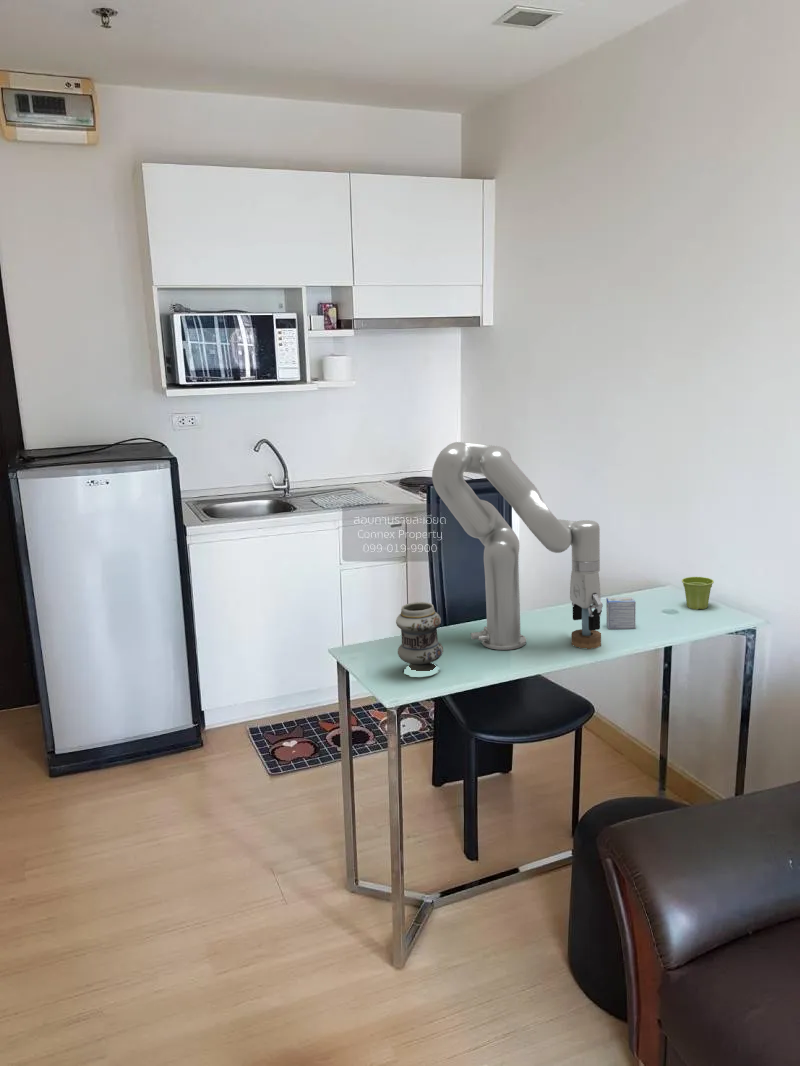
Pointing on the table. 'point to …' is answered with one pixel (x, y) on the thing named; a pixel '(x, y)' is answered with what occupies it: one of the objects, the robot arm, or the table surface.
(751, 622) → the table surface
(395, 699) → the table surface
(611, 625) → the medicine box
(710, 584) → the plant pot
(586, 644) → the bead
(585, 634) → the blue grey cylinder
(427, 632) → the apothecary jar
